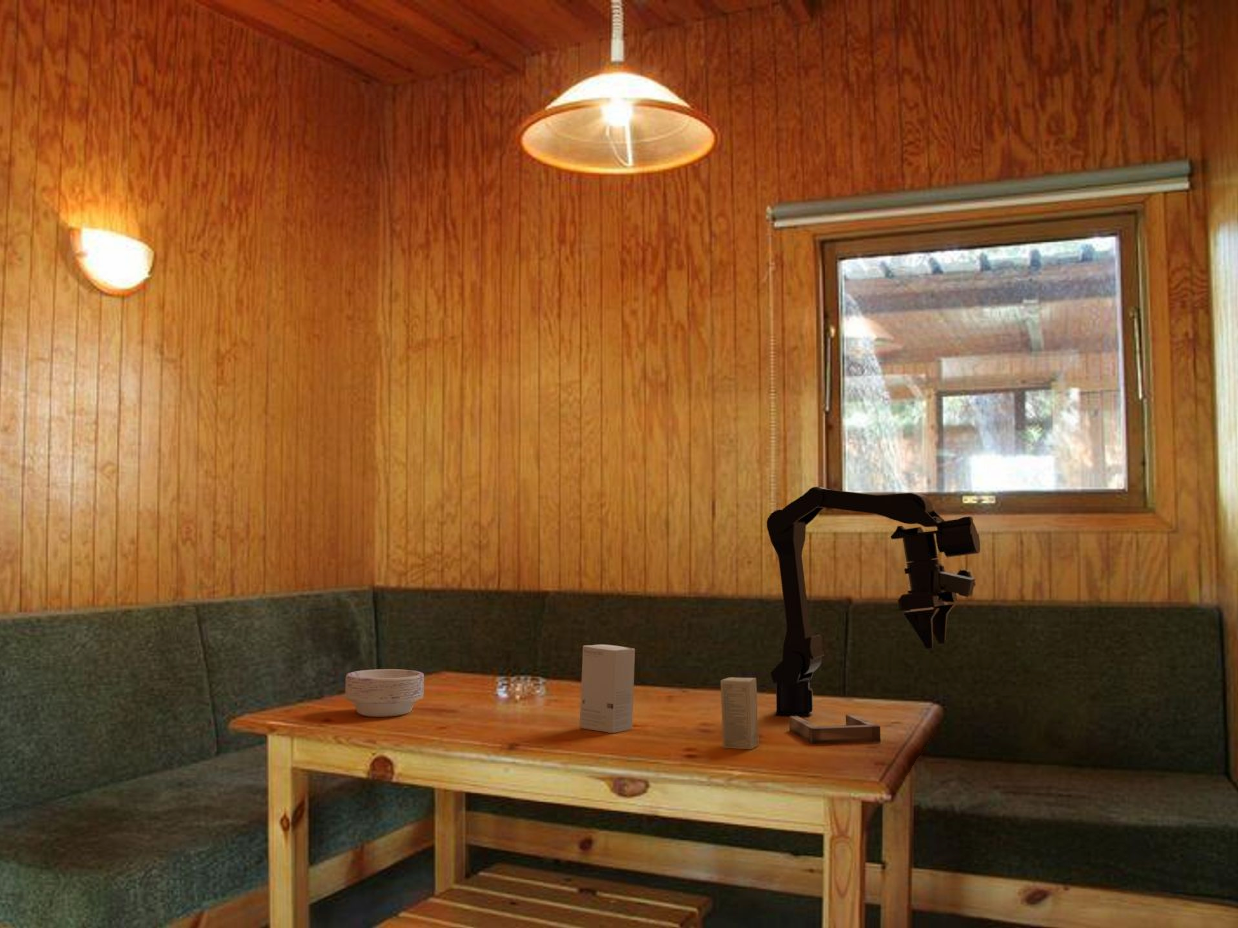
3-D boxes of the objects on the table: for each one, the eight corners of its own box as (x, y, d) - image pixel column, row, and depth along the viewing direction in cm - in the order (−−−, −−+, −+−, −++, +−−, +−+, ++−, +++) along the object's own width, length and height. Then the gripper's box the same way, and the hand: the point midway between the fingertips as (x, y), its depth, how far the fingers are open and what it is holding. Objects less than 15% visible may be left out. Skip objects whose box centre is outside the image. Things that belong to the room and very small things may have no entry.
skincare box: (579, 728, 189) (578, 645, 190) (601, 723, 193) (600, 642, 194) (614, 734, 183) (614, 648, 184) (636, 729, 188) (635, 645, 189)
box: (759, 745, 173) (758, 677, 174) (751, 750, 169) (750, 681, 170) (729, 742, 175) (728, 676, 176) (720, 747, 171) (719, 679, 172)
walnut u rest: (789, 730, 186) (789, 716, 186) (853, 728, 187) (853, 713, 188) (812, 743, 174) (811, 728, 174) (880, 741, 176) (880, 726, 176)
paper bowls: (439, 712, 206) (439, 672, 207) (374, 723, 195) (375, 680, 196) (393, 704, 217) (394, 665, 217) (329, 714, 205) (330, 673, 206)
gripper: (954, 556, 180) (969, 647, 178) (977, 553, 196) (991, 637, 194) (891, 564, 185) (905, 652, 183) (918, 561, 201) (931, 642, 199)
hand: (935, 646), depth 190 cm, fingers open, 9 cm apart
